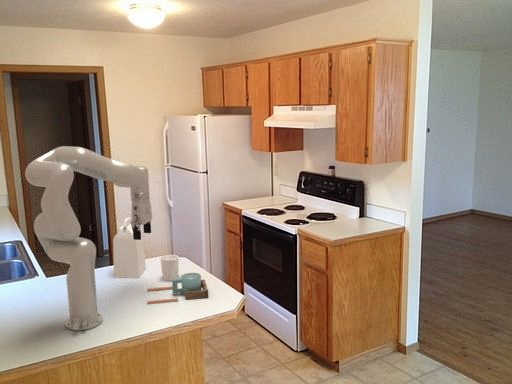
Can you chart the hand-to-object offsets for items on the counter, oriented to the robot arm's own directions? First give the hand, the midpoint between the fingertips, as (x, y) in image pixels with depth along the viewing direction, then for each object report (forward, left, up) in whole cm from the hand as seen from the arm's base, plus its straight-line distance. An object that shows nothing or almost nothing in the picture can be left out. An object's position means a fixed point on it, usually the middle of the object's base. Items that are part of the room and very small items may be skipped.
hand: (142, 236), depth 195 cm
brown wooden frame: (-10, -21, -23) cm, 33 cm away
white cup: (+9, -11, -23) cm, 27 cm away
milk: (+20, +7, -23) cm, 31 cm away
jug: (-10, -17, -23) cm, 31 cm away
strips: (-10, -7, -23) cm, 26 cm away
